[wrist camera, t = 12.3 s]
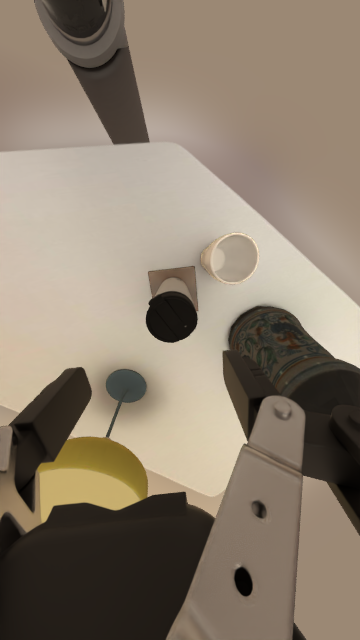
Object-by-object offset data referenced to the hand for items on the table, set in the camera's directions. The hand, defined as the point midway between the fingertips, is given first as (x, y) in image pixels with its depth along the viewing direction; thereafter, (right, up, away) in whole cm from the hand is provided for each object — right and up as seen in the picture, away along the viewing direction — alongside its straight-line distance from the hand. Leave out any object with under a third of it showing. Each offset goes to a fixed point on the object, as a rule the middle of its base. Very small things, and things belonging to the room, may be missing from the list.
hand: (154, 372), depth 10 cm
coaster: (0, +9, +30) cm, 31 cm away
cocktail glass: (-13, -15, +38) cm, 43 cm away
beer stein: (+22, -2, +35) cm, 41 cm away
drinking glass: (+8, +16, +28) cm, 33 cm away
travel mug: (0, +10, +29) cm, 31 cm away
